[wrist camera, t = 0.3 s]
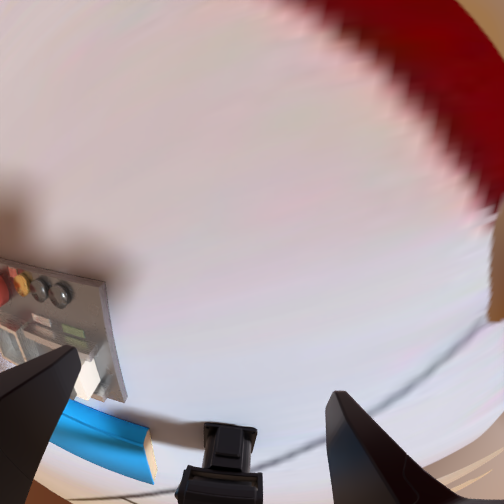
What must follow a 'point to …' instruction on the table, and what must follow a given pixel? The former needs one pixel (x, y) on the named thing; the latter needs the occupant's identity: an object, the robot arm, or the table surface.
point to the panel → (59, 321)
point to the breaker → (86, 381)
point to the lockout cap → (3, 292)
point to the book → (106, 441)
